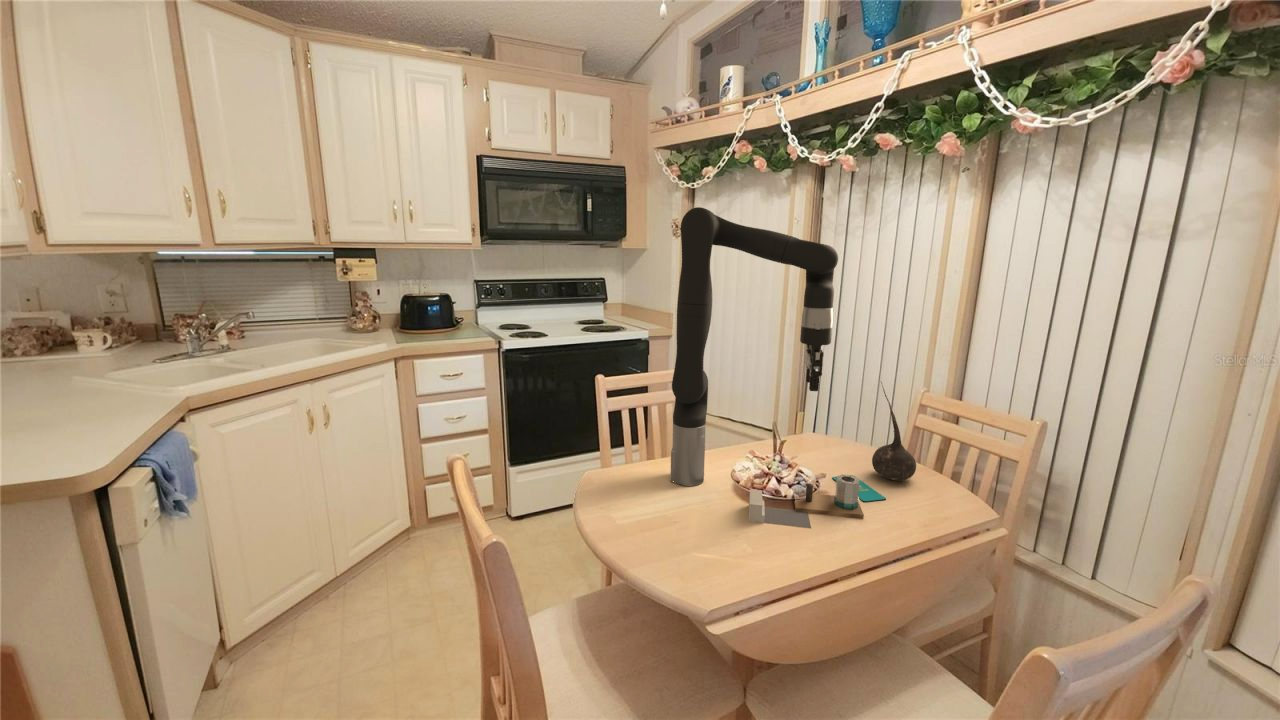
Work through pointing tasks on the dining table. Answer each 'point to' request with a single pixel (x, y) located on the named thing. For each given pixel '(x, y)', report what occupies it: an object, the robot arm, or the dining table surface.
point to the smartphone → (866, 492)
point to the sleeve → (846, 492)
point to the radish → (894, 457)
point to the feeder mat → (774, 513)
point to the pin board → (824, 505)
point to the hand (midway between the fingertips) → (811, 386)
